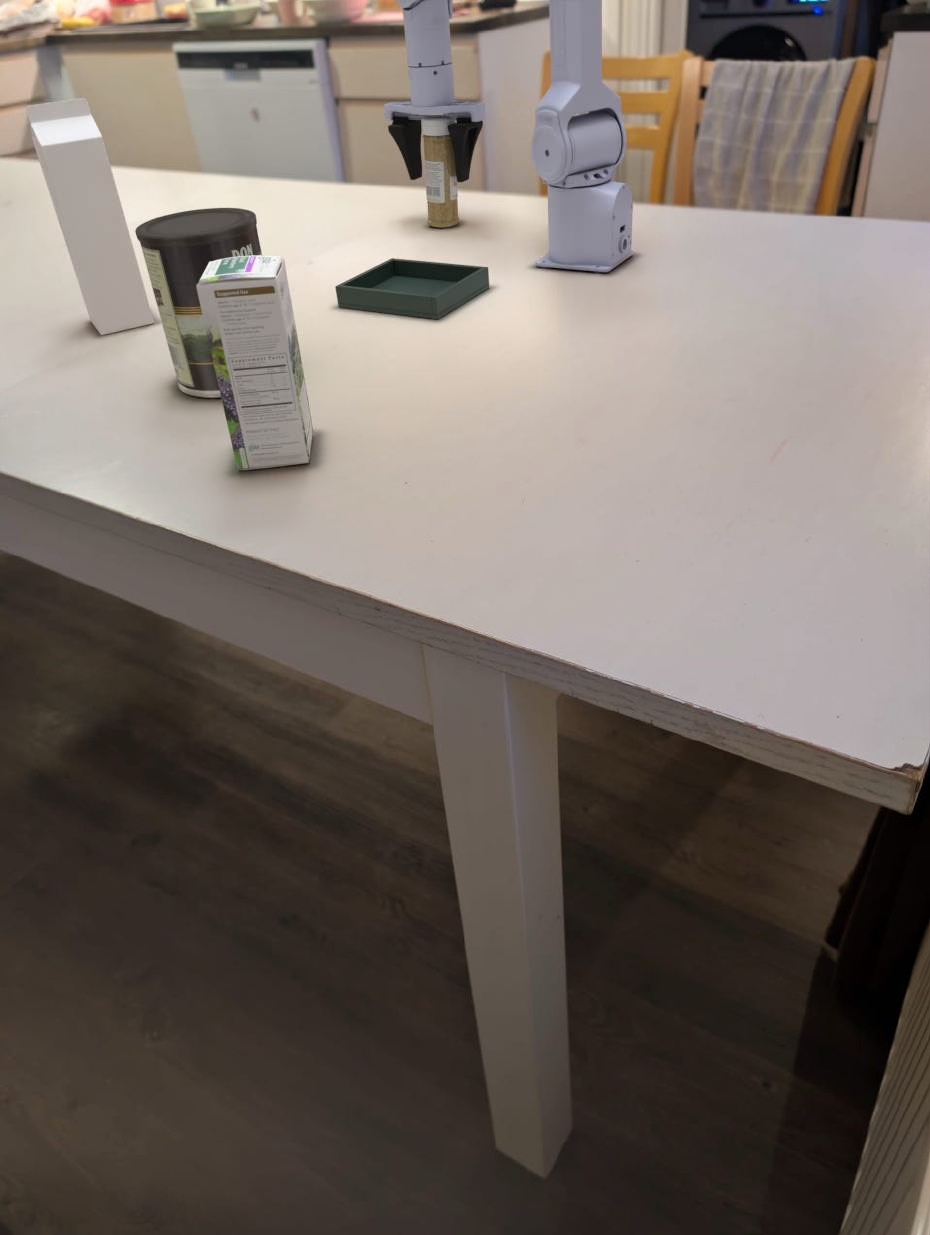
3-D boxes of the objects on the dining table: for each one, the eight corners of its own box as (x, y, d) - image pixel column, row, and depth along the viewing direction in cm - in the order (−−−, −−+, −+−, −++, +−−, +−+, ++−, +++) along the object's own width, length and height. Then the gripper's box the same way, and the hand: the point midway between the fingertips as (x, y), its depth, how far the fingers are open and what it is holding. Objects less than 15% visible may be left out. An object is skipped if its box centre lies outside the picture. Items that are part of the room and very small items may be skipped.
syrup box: (245, 440, 75) (202, 259, 66) (316, 433, 75) (283, 251, 66) (237, 472, 70) (190, 282, 62) (313, 464, 70) (277, 273, 62)
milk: (155, 324, 102) (93, 100, 88) (100, 336, 100) (29, 108, 86) (142, 310, 106) (82, 95, 93) (89, 321, 104) (20, 103, 91)
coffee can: (307, 365, 88) (279, 210, 79) (233, 406, 81) (194, 241, 73) (230, 351, 92) (196, 203, 84) (154, 388, 86) (109, 231, 77)
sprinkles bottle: (465, 224, 127) (462, 116, 119) (438, 230, 125) (432, 121, 117) (448, 217, 130) (443, 112, 122) (421, 223, 128) (414, 116, 120)
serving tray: (489, 287, 103) (488, 267, 102) (437, 319, 96) (435, 297, 94) (394, 277, 109) (391, 258, 108) (338, 307, 102) (335, 286, 100)
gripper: (494, 59, 116) (499, 175, 124) (400, 61, 122) (411, 171, 130) (466, 67, 111) (473, 186, 119) (370, 68, 118) (383, 182, 126)
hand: (439, 179), depth 124 cm, fingers open, 7 cm apart
